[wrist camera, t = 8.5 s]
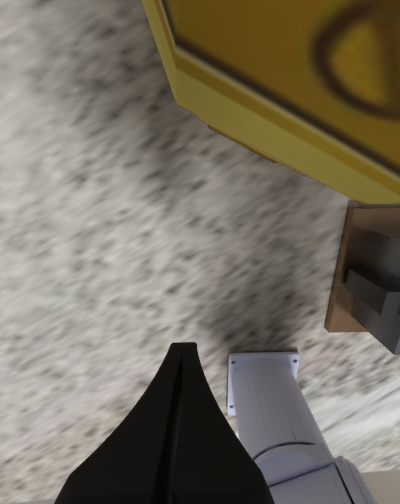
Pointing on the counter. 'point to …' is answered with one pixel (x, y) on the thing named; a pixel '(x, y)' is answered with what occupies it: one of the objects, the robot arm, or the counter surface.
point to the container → (293, 83)
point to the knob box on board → (368, 276)
